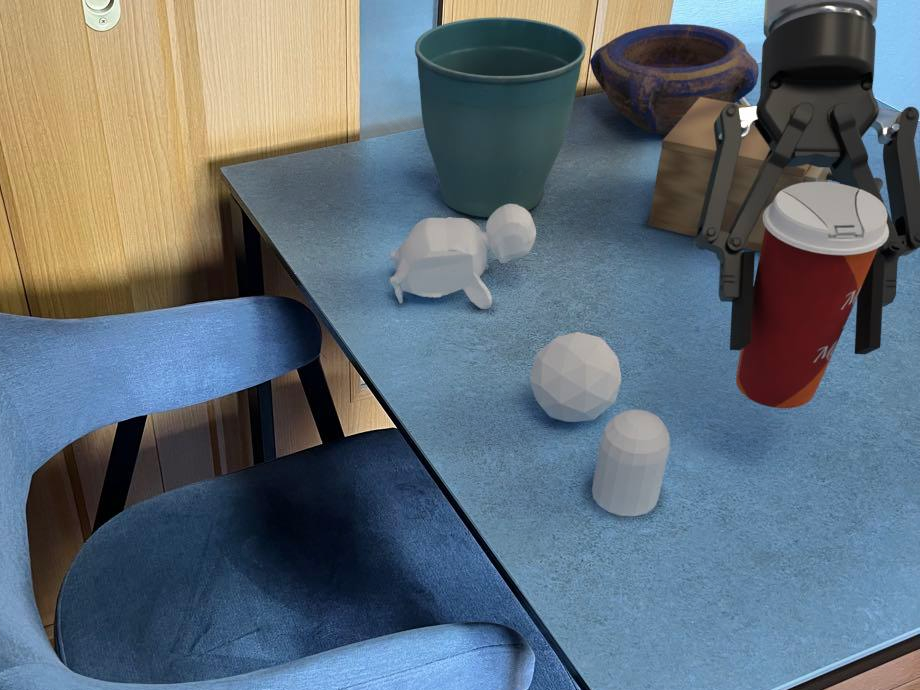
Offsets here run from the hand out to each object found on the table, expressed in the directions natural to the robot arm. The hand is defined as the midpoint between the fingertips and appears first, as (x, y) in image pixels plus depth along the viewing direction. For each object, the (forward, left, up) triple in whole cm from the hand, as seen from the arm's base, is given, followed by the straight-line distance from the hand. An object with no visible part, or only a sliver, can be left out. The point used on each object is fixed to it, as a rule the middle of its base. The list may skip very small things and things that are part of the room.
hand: (803, 348), depth 74 cm
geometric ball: (+17, -3, -14) cm, 23 cm away
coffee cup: (+1, -3, -6) cm, 7 cm away
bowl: (+30, -66, -14) cm, 74 cm away
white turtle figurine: (+35, -17, -14) cm, 42 cm away
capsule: (+9, +5, -14) cm, 18 cm away
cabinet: (+15, -45, -14) cm, 49 cm away
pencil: (+20, -73, -14) cm, 77 cm away
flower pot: (+41, -37, -14) cm, 57 cm away
